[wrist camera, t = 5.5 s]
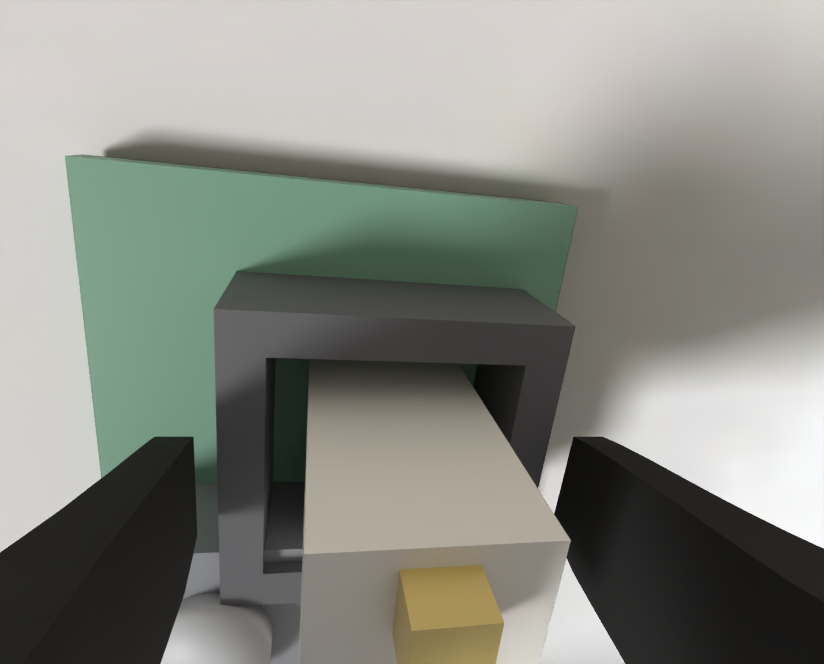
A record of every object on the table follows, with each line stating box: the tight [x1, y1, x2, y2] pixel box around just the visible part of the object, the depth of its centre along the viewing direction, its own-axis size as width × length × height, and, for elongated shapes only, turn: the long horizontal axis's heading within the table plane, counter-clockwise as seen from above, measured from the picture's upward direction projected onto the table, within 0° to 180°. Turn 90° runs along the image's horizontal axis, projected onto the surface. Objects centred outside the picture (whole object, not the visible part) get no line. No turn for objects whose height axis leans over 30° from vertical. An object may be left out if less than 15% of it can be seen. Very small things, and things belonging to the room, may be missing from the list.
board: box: [65, 155, 578, 664], centre depth 11 cm, size 12×10×4 cm
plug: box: [299, 359, 571, 664], centre depth 9 cm, size 3×3×7 cm
